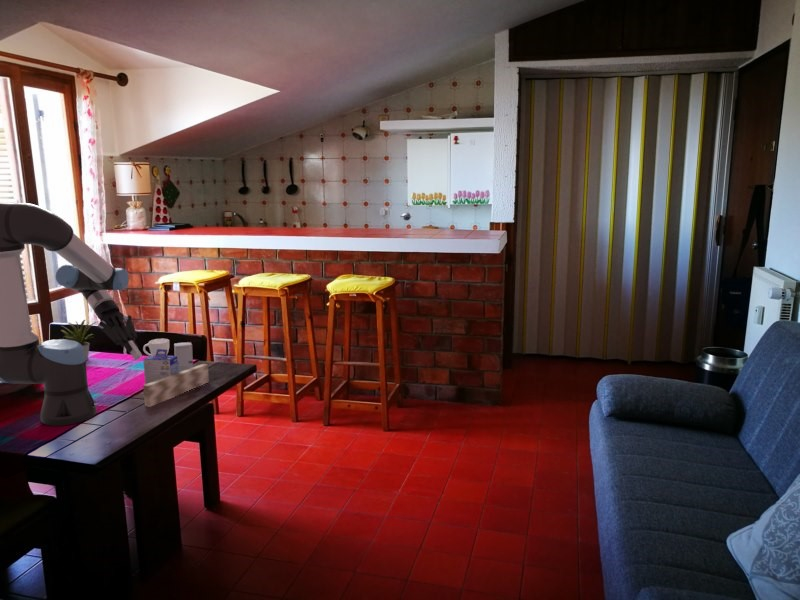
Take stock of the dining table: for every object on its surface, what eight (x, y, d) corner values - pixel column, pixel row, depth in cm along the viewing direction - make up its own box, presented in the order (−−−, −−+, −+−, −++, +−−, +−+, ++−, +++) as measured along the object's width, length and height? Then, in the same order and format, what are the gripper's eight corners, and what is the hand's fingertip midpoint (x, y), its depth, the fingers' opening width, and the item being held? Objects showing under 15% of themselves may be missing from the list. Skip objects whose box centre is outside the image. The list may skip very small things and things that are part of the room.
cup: (170, 358, 246) (169, 342, 244) (143, 361, 242) (142, 344, 241) (170, 353, 253) (169, 337, 251) (144, 356, 249) (142, 340, 248)
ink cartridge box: (180, 389, 211) (177, 349, 208) (172, 394, 206) (169, 353, 203) (153, 387, 212) (150, 347, 209) (145, 393, 207) (141, 352, 204)
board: (149, 407, 195) (147, 386, 193) (144, 405, 196) (143, 385, 194) (208, 383, 217) (207, 364, 216) (204, 382, 218) (203, 363, 217)
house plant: (98, 351, 254) (95, 313, 251) (107, 359, 244) (104, 319, 241) (60, 357, 245) (56, 318, 242) (68, 366, 235) (63, 325, 232)
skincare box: (176, 378, 222) (174, 346, 220) (175, 374, 226) (173, 343, 224) (194, 376, 225) (192, 344, 222) (192, 372, 229) (190, 341, 226)
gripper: (115, 308, 225) (149, 358, 221) (82, 315, 214) (117, 368, 210) (123, 296, 222) (158, 346, 217) (91, 302, 210) (127, 355, 206)
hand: (138, 357), depth 213 cm, fingers closed
